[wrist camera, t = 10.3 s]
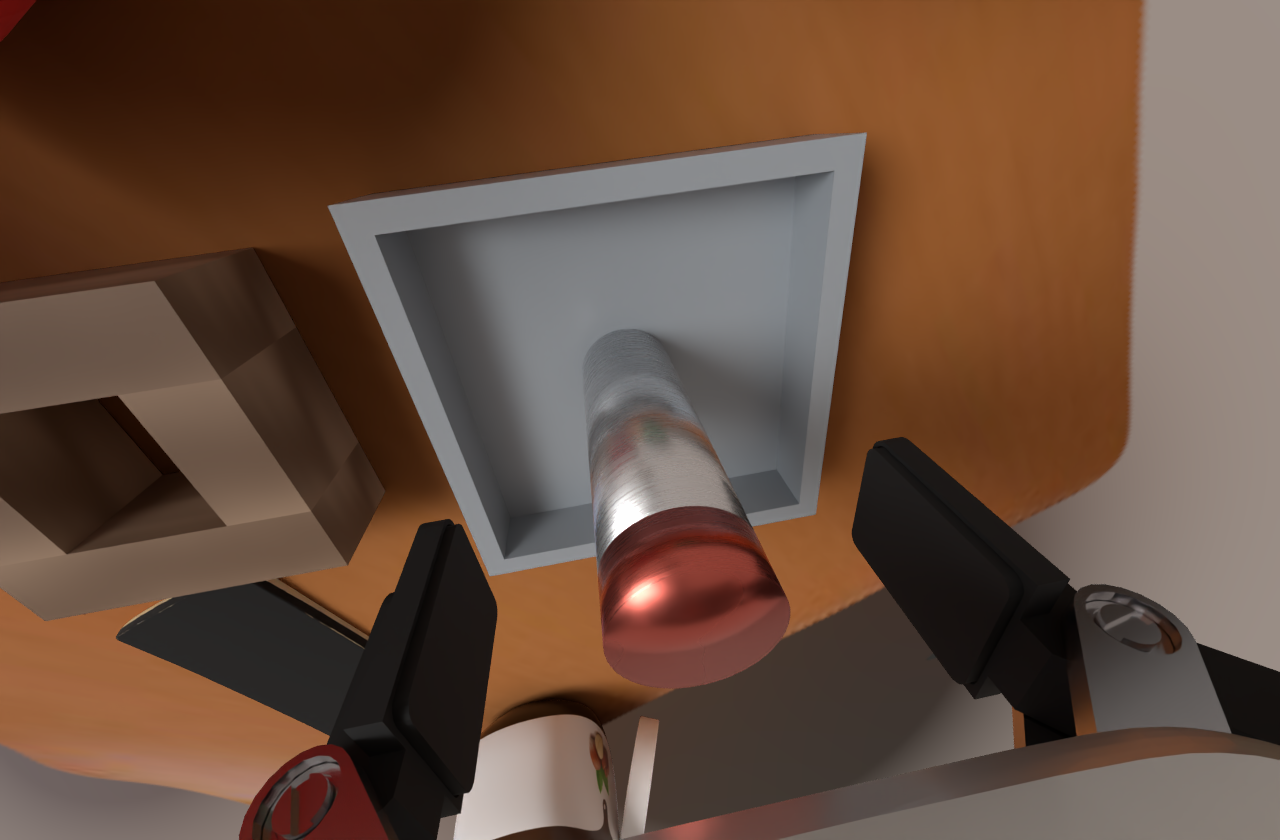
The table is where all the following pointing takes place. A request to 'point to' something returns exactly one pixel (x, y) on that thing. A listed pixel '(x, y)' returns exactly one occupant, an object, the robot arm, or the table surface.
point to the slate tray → (615, 320)
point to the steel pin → (669, 528)
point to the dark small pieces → (257, 646)
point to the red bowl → (12, 14)
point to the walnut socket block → (167, 438)
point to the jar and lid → (554, 778)
